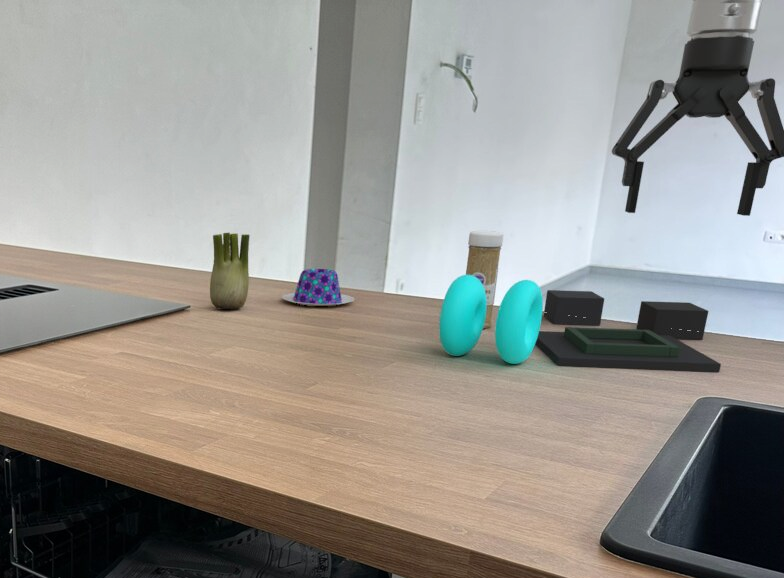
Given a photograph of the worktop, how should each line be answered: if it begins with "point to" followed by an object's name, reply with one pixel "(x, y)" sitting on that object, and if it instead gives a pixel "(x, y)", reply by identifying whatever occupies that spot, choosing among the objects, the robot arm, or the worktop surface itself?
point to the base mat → (622, 350)
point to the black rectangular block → (673, 319)
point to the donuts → (512, 325)
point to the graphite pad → (573, 307)
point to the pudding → (318, 289)
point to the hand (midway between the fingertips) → (685, 213)
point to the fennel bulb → (229, 271)
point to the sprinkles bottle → (485, 264)
